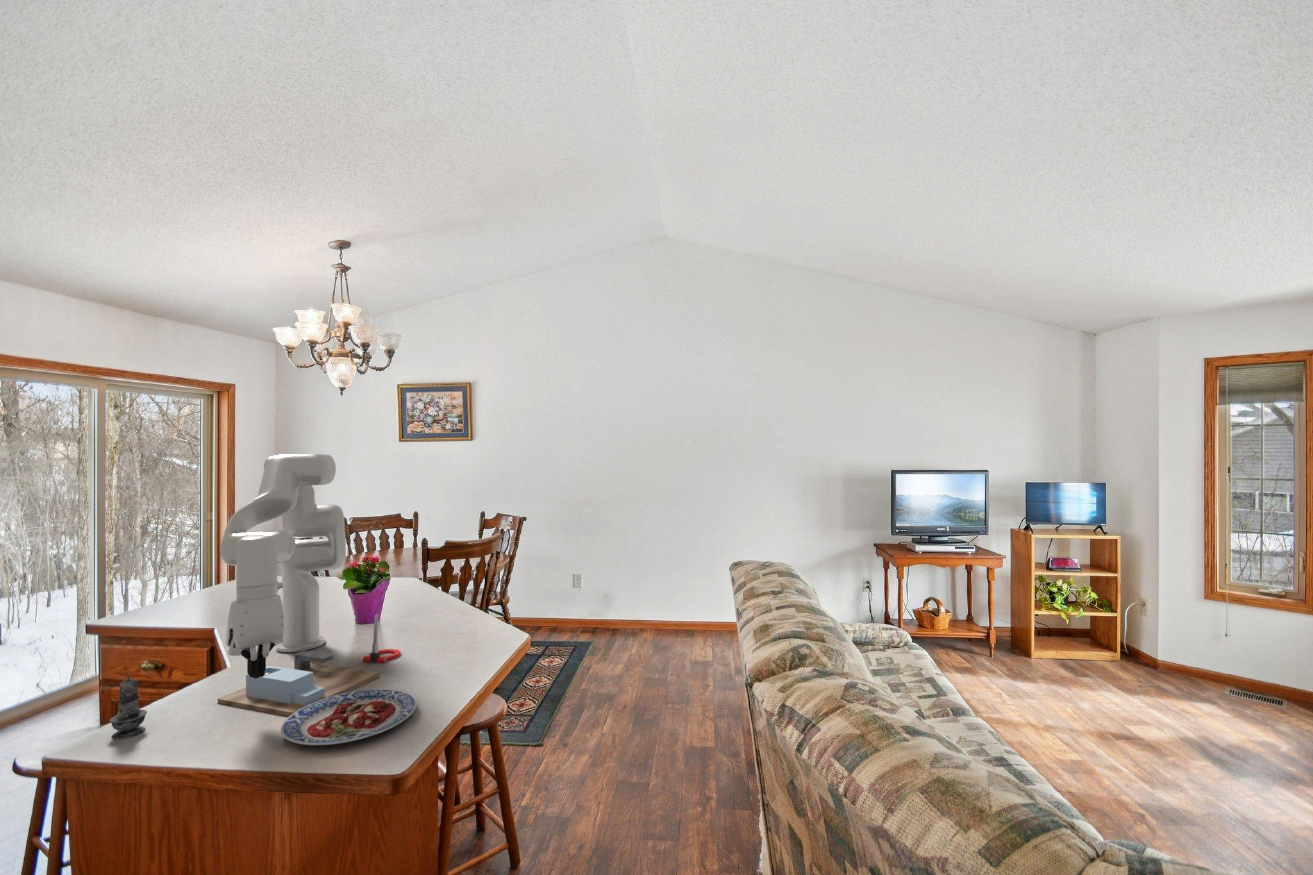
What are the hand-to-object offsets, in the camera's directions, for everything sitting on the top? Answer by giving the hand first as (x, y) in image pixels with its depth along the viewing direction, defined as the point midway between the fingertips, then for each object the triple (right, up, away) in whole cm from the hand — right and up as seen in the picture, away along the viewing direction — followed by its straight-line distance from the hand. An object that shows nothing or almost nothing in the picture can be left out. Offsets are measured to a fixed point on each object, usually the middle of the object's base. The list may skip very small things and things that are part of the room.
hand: (256, 676), depth 129 cm
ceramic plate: (+22, -9, -2) cm, 24 cm away
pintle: (-5, -9, +11) cm, 15 cm away
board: (+1, -9, +15) cm, 18 cm away
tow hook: (+10, -10, +38) cm, 40 cm away
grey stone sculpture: (-22, -10, -6) cm, 25 cm away
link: (+1, -8, +9) cm, 12 cm away
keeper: (-2, -9, +25) cm, 26 cm away
